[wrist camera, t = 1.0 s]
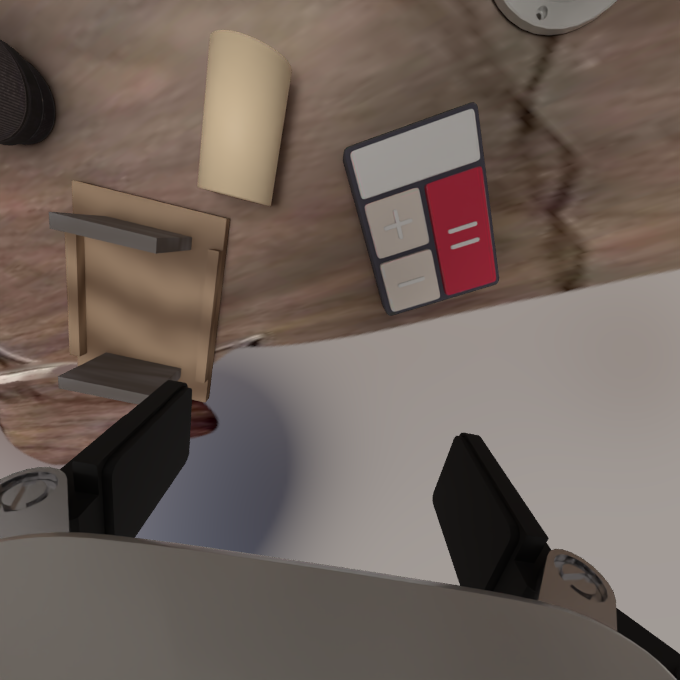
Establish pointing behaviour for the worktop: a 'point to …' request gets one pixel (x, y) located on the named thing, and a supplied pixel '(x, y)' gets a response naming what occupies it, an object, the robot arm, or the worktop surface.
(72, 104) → the worktop surface
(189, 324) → the roll holder
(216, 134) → the beige cylinder
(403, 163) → the calculator
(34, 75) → the camera lens
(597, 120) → the worktop surface
